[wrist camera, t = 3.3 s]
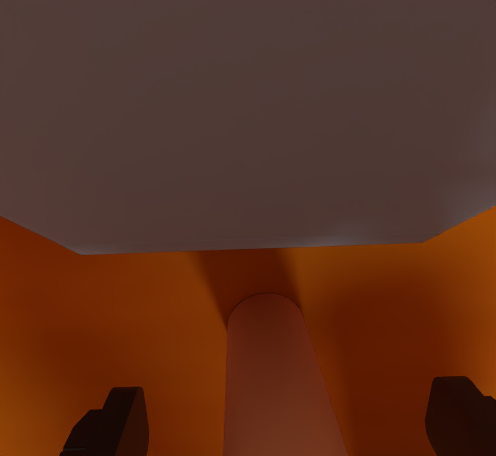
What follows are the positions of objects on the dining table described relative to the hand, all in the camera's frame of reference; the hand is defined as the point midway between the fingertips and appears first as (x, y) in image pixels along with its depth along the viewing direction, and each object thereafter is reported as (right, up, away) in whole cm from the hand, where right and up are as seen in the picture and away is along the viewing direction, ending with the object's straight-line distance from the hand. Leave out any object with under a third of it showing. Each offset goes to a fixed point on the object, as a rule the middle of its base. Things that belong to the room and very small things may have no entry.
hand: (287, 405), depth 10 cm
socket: (-1, +12, 0) cm, 12 cm away
